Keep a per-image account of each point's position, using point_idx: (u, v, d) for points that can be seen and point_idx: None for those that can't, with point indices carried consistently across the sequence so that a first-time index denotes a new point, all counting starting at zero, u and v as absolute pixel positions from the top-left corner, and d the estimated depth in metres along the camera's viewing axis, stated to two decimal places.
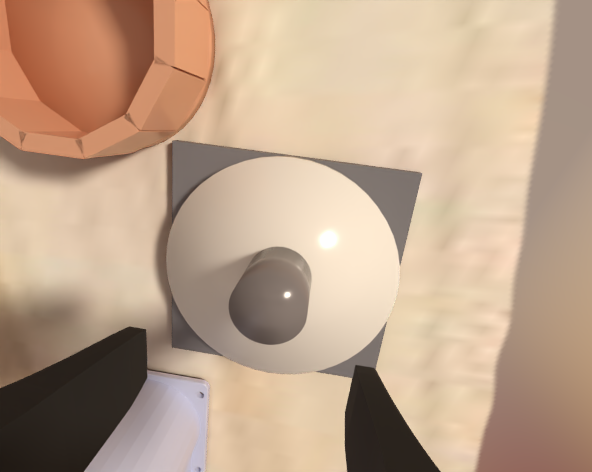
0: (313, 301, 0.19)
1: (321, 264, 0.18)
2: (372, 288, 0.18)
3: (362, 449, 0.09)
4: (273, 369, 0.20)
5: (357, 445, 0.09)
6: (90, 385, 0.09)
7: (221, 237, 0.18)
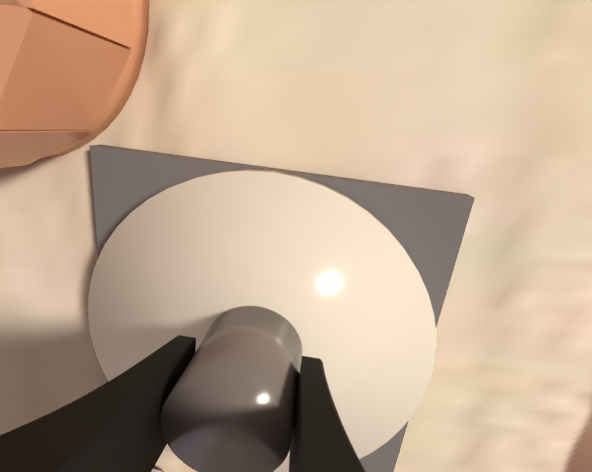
0: None
1: (317, 333, 0.12)
2: (393, 367, 0.12)
3: (296, 437, 0.09)
4: None
5: (294, 433, 0.09)
6: (153, 396, 0.09)
7: (167, 291, 0.12)
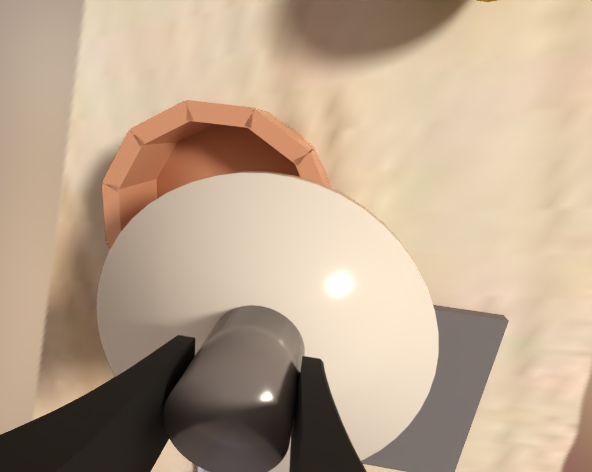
0: None
1: (318, 330, 0.12)
2: (396, 364, 0.12)
3: (296, 437, 0.09)
4: None
5: (295, 434, 0.09)
6: (152, 396, 0.09)
7: (170, 293, 0.12)
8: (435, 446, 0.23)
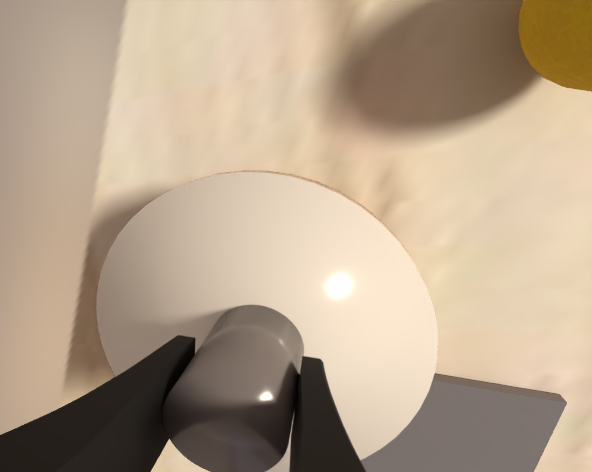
0: None
1: (317, 329, 0.12)
2: (396, 362, 0.12)
3: (296, 437, 0.09)
4: None
5: (295, 434, 0.09)
6: (153, 396, 0.09)
7: (170, 293, 0.12)
8: None
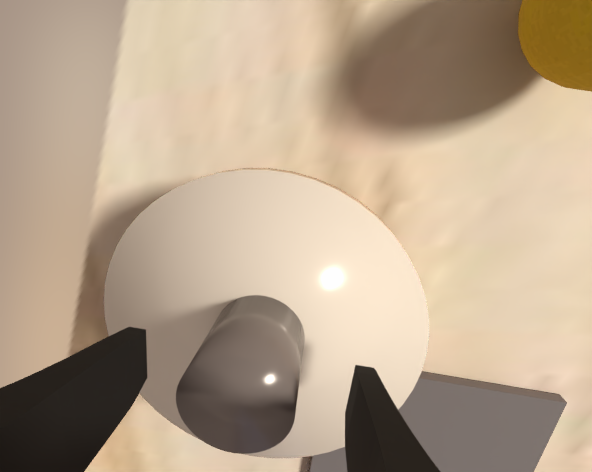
0: (309, 365, 0.13)
1: (317, 317, 0.13)
2: (390, 347, 0.13)
3: (362, 449, 0.09)
4: (262, 452, 0.15)
5: (357, 445, 0.09)
6: (90, 385, 0.09)
7: (176, 286, 0.13)
8: None
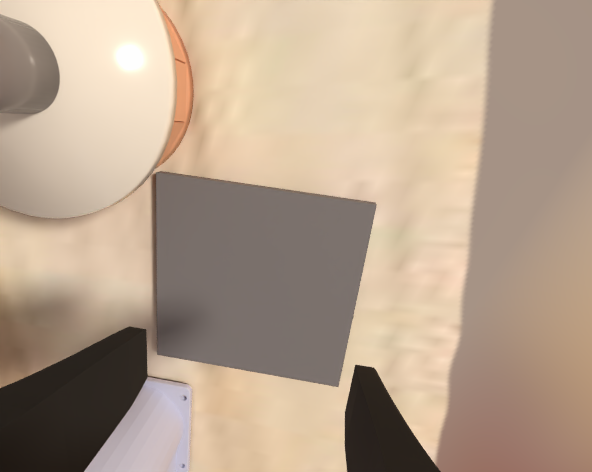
0: (69, 101, 0.14)
1: (64, 41, 0.13)
2: (135, 71, 0.13)
3: (362, 449, 0.09)
4: (49, 212, 0.16)
5: (357, 445, 0.09)
6: (90, 385, 0.09)
7: None
8: (319, 349, 0.22)
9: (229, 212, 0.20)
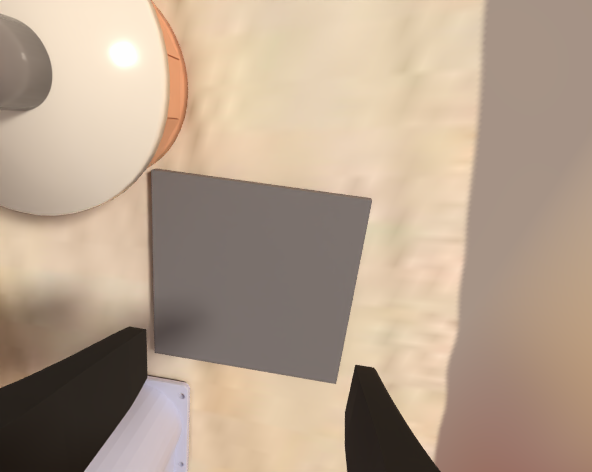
0: (62, 97, 0.14)
1: (56, 37, 0.13)
2: (127, 66, 0.13)
3: (362, 449, 0.09)
4: (44, 210, 0.16)
5: (357, 445, 0.09)
6: (90, 385, 0.09)
7: None
8: (316, 346, 0.22)
9: (225, 209, 0.20)
